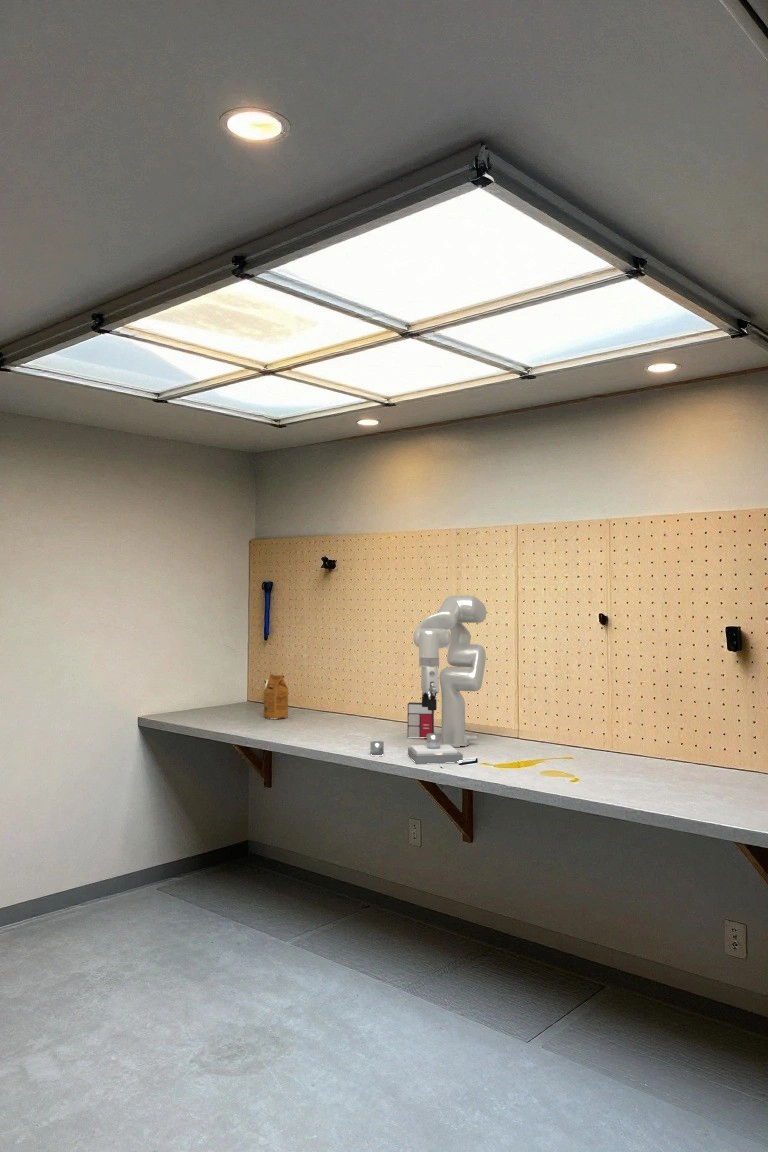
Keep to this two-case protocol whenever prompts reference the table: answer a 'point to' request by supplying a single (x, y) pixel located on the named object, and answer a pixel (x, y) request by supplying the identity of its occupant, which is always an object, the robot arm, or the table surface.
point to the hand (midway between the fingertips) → (429, 708)
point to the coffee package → (276, 697)
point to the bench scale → (434, 754)
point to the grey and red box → (419, 720)
